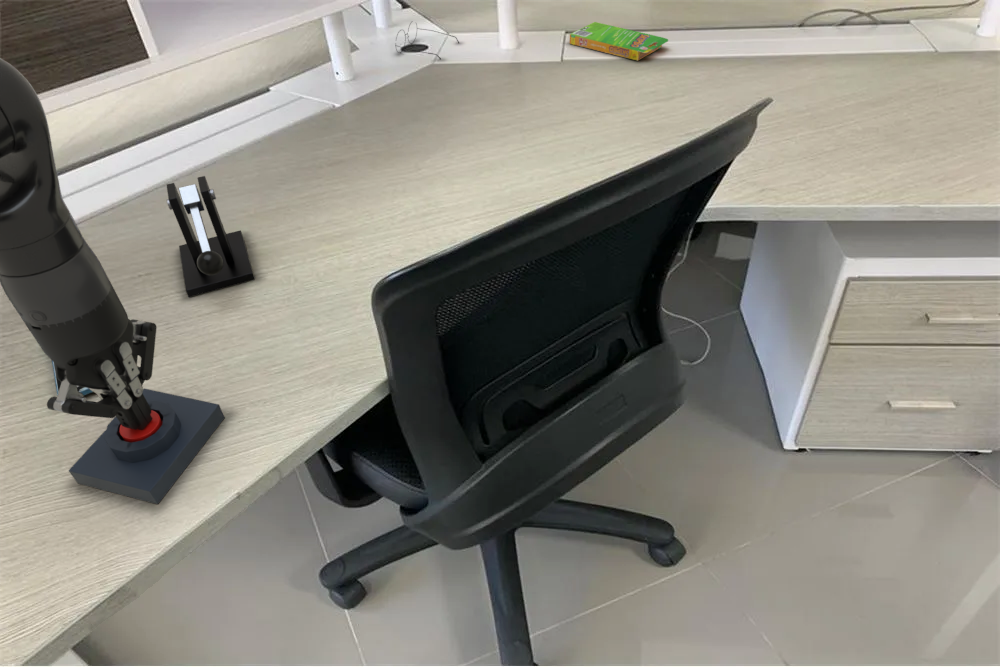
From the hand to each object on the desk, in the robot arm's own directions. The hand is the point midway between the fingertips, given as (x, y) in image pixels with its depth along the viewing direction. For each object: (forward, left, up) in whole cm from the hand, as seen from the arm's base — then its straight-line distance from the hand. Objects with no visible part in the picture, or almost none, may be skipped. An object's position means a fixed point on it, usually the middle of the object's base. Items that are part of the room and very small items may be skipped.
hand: (140, 423), depth 73 cm
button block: (0, 0, -4) cm, 4 cm away
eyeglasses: (+101, +62, -4) cm, 119 cm away
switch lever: (+21, +22, +3) cm, 31 cm away
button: (0, 0, -2) cm, 2 cm away
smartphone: (+2, +21, -4) cm, 21 cm away
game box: (+127, +27, -4) cm, 130 cm away
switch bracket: (+23, +25, -4) cm, 34 cm away
